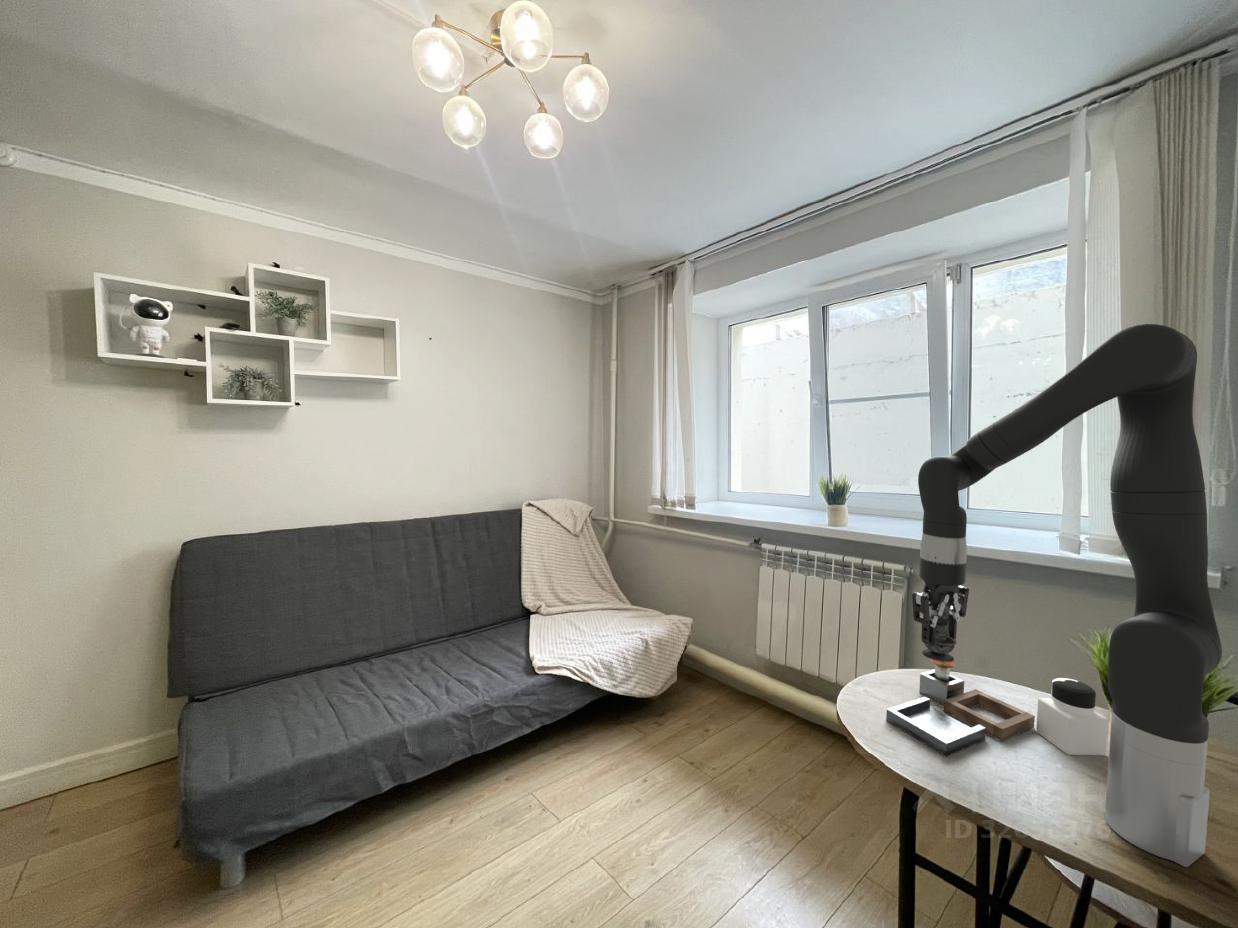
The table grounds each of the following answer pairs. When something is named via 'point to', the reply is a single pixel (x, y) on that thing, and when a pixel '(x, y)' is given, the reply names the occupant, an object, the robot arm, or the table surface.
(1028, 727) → the socket collar
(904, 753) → the table surface
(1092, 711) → the medicine bottle
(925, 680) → the housing
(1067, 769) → the table surface
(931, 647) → the dark grey chess piece
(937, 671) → the copper mushroom knob
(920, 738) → the tray
